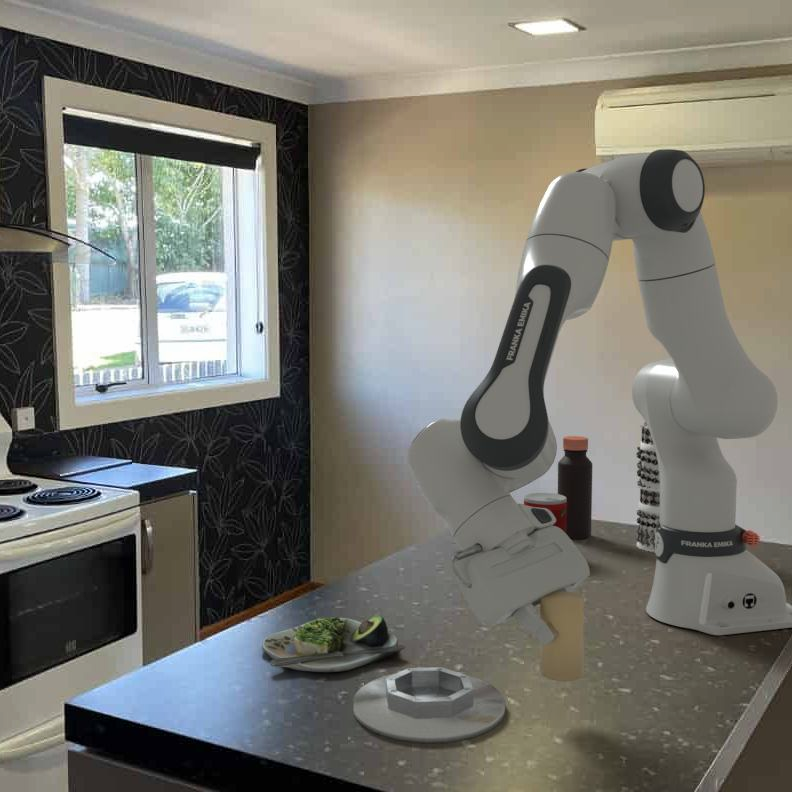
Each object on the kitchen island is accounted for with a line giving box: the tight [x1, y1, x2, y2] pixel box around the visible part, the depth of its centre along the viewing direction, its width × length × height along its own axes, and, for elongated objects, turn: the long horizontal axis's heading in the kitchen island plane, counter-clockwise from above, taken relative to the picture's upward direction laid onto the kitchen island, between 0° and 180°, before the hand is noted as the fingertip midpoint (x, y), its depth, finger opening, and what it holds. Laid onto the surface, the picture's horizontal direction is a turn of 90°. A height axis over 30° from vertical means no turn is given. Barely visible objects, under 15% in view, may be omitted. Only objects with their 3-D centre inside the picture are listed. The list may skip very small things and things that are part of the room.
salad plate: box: [261, 615, 406, 673], centre depth 134 cm, size 19×18×5 cm
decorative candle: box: [635, 421, 660, 553], centre depth 187 cm, size 9×9×25 cm
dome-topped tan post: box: [539, 591, 585, 682], centre depth 114 cm, size 5×5×9 cm
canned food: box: [523, 492, 567, 533], centre depth 184 cm, size 8×8×11 cm
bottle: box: [557, 435, 593, 540], centre depth 197 cm, size 7×7×20 cm
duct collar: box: [353, 666, 506, 744], centre depth 116 cm, size 18×18×3 cm
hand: (566, 633), depth 113 cm, fingers closed on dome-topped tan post, 5 cm apart
